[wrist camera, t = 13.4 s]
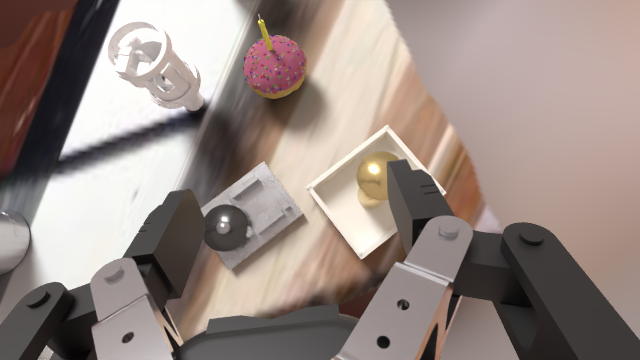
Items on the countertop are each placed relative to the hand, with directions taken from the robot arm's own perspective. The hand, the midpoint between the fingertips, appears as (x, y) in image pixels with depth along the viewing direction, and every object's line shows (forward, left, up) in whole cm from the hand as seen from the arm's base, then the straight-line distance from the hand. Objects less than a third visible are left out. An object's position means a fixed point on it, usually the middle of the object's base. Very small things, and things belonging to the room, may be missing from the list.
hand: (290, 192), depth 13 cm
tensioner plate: (-8, +8, -31) cm, 33 cm away
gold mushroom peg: (+7, 0, -30) cm, 31 cm away
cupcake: (+7, +21, -31) cm, 38 cm away
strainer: (-5, +27, -31) cm, 41 cm away
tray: (+7, 0, -31) cm, 32 cm away
